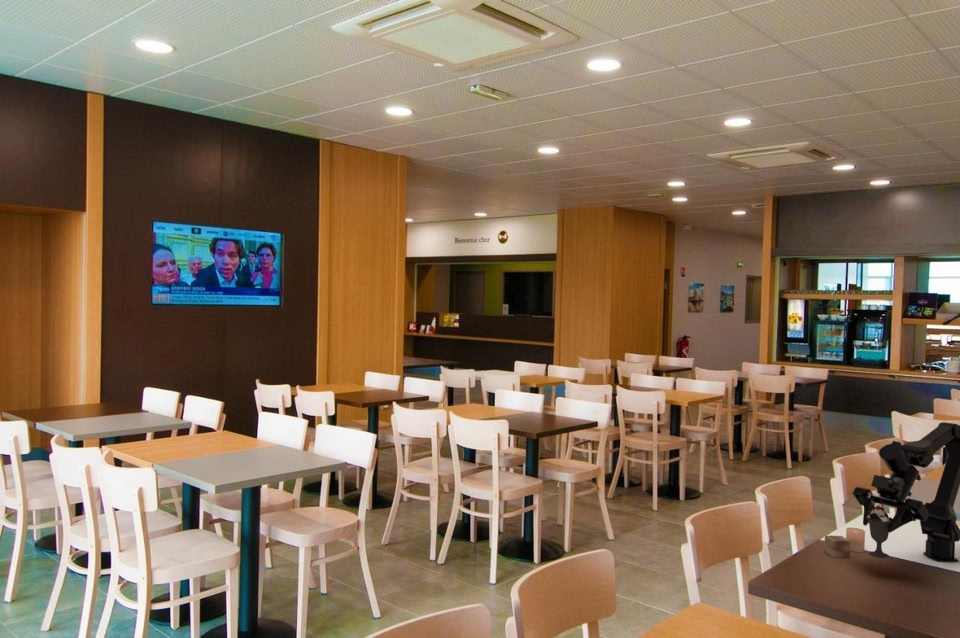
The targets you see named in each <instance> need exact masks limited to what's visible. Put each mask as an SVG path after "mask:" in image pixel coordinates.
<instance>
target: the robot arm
mask: <svg viewBox="0 0 960 638" xmlns="http://www.w3.org/2000/svg"><path fill="white" fill-rule="evenodd" d="M937 425H938V426H937V427H935V428H934V429H933V430H931V431H930V432H928V433H927V434H925V435H924V436H923V437H922V438H921V439H919V440H915V441H914V440H913V441H909V442H906V443H903V444H902V443H901V442H900V441H896V440H893V441H891V443H888V444H885V445H883V447H881V448H880V449H879V451H878V455H879V457H880V458H881V460H882V461H883V464H884V465H885V466H886V468H887V469H888V470H889V471H890V472H892V473H891V474H890V476H889V477H887V476H882V475H878V474H873V477H872V482H871V484H870V486H871V487H872V488H873V487H874V488H875V489H876V492H877V494H879V496H878V495H875V494H874V493H873V491H872V490H871V489H870V488H865V487H861V486H855V487H854V488H853V490H852V492H851V493H852V495H853V497H854V498H855V500H856V501H857V503H858V505H861V506H863V516H862V517H863V518H862V523H863V524H862V525H863V526H865V527H866V526H868V525H869V521H868V518H866V516H868V515H869V514H871V511H872V510H873V509H874V508H876V505H877V504H878V505H879V504H880V502H881V501H880V499H882V502H881V504H880V505H882V504H883V506H887V507H891V508H895V509H896V511H895V514H894V516H893V517H892V521H891V523H890V525H889V527H888V532H889V534H891V533H892V532H894V531H896V530H897V529H899V528H900V527H902V526H905V525H907V524H908V523H911V522H916V521H919V524H920V530H921V533H922V534H923V535H925V536H927V537H926V540H925V551H923V555H925V556H927V557H928V558H931V559H933V560H934V561H937V562H959V559H958V558H956V557H955V552H956V550H955V548H956V542H960V528H959V526H958V524H957V514H956V512H955V508H954V505H955V502H956V499H957V495H958V492H959V488H960V425H959V424H957V423H954V422H952V423H951V422H945V421H943V422H940V423H938V424H937ZM943 447H944V448H945V450H946V453H947V458H946V462H945V464H944V467H943V471H942V473H941V477H940V480H939V484H938V487H937V490H936V494H935V495H934V496H935V497H934V499H933V500H932V501H931V502H925V503H923V501H922V500H918V499H913V498H911V496H912V492H911V490H912V488H913V485H914V484H915V483H916V481H922V479H921V475H920V471H919V470H918V469H917V467H918V468H925V469H926V468H928V467H929V466H930V464H931V463H932V462H933V461H934V460H935V459H934V455H935V454H936V453H937V452H939V450H941V449H942V448H943ZM907 497H910V498H907Z"/></svg>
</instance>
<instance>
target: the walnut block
mask: <svg viewBox="0 0 960 638" xmlns="http://www.w3.org/2000/svg"><path fill="white" fill-rule="evenodd" d="M825 552H826V554H827V555H828V554H829V555H828V556H830V557H831V556H832V557H837V558H836V559H838V558H839V559H851V551H850V541H849V540H848V539H846V537H844V536H843V535H824V553H825ZM832 557H831V558H832Z"/></svg>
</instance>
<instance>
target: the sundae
mask: <svg viewBox="0 0 960 638" xmlns="http://www.w3.org/2000/svg"><path fill="white" fill-rule="evenodd" d="M880 501H881V502H882V499H880ZM881 502H880V504H879V503H878V505H877V504H876V505H875V507H876V508H874V509H873V510H872V511H871V514H869V515H868V516H866V518H868V521H869V523H868V525H869V533H870V537H871V539H873V541H874V542H876V548H875V550H874V551H869V552H868V554H869V556H870V557H873V558H877V559H889V558H890V555H889V554H888V553H885V552H884V551H883V550H882V549H883V548H882V544H883V543H884V542H886V541H887V540H888V538H889V534H890V532H888V527H889V525H890V523H891V521H892V519H893V517H891V516H890V517H889V514H888V513H887V512H886V511H885V507H884V505H883V504H881Z"/></svg>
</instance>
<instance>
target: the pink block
mask: <svg viewBox="0 0 960 638" xmlns="http://www.w3.org/2000/svg"><path fill="white" fill-rule="evenodd" d="M845 530H846V531H845V533H846V534H845V536H846V537H845V538H846V539H848V540H849V541H850V552H851V551H854V552H853V553H856V552H863V553H865V544H866V531H865V530H864V529H862V528H860V527H859V528H858V527H847V528H846V529H845Z"/></svg>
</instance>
